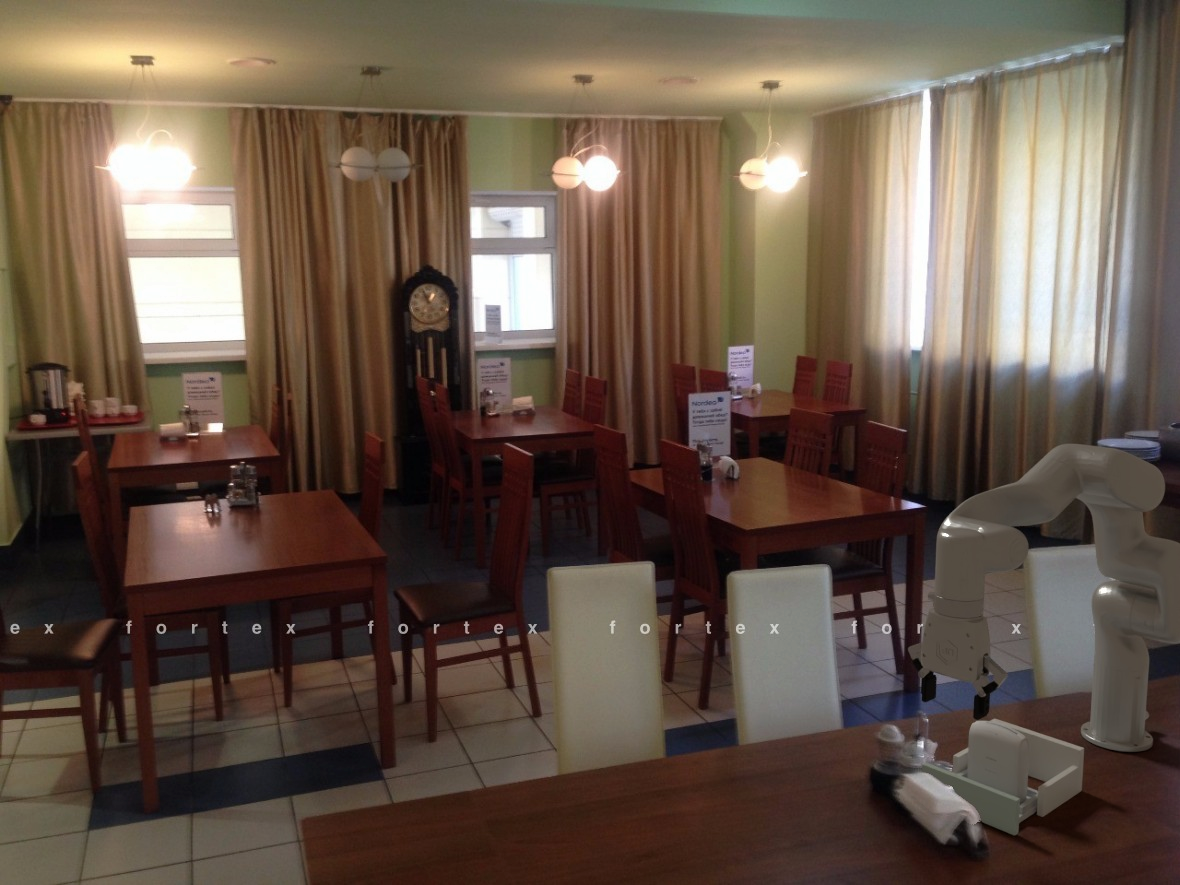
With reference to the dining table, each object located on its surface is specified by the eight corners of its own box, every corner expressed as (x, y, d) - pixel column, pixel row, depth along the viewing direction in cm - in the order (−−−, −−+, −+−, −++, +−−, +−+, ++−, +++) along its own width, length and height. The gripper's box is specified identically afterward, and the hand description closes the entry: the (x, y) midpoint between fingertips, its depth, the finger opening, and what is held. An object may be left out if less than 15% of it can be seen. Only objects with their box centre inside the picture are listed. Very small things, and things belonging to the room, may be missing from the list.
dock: (992, 758, 194) (994, 718, 193) (1081, 790, 181) (1084, 747, 180) (952, 781, 185) (953, 739, 184) (1042, 817, 173) (1045, 772, 171)
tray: (962, 773, 188) (964, 742, 187) (1055, 808, 175) (1056, 775, 174) (920, 797, 180) (922, 764, 179) (1014, 836, 166) (1016, 800, 165)
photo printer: (962, 785, 181) (965, 719, 180) (975, 777, 184) (978, 712, 182) (1018, 807, 174) (1021, 738, 172) (1031, 799, 176) (1034, 731, 174)
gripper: (898, 598, 169) (894, 698, 171) (997, 623, 155) (991, 732, 158) (923, 589, 173) (920, 687, 176) (1022, 613, 160) (1016, 719, 162)
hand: (953, 708), depth 167 cm, fingers open, 8 cm apart
